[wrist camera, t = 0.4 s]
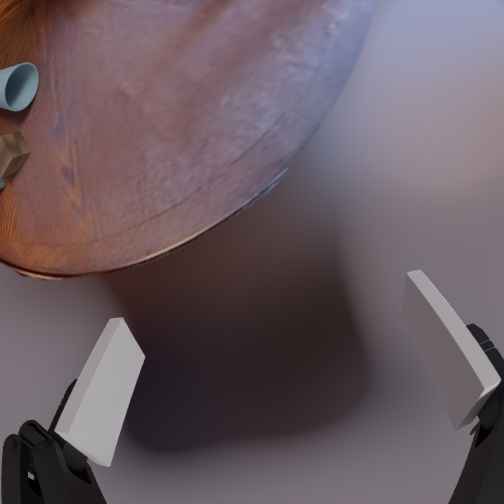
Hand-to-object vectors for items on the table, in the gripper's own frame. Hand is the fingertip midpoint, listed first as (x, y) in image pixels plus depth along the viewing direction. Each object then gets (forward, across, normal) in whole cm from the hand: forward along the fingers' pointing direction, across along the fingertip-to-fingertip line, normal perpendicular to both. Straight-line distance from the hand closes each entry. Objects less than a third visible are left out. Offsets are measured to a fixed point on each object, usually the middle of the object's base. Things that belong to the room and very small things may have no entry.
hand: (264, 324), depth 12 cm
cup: (+28, -38, +29) cm, 55 cm away
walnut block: (+28, -38, +16) cm, 49 cm away
